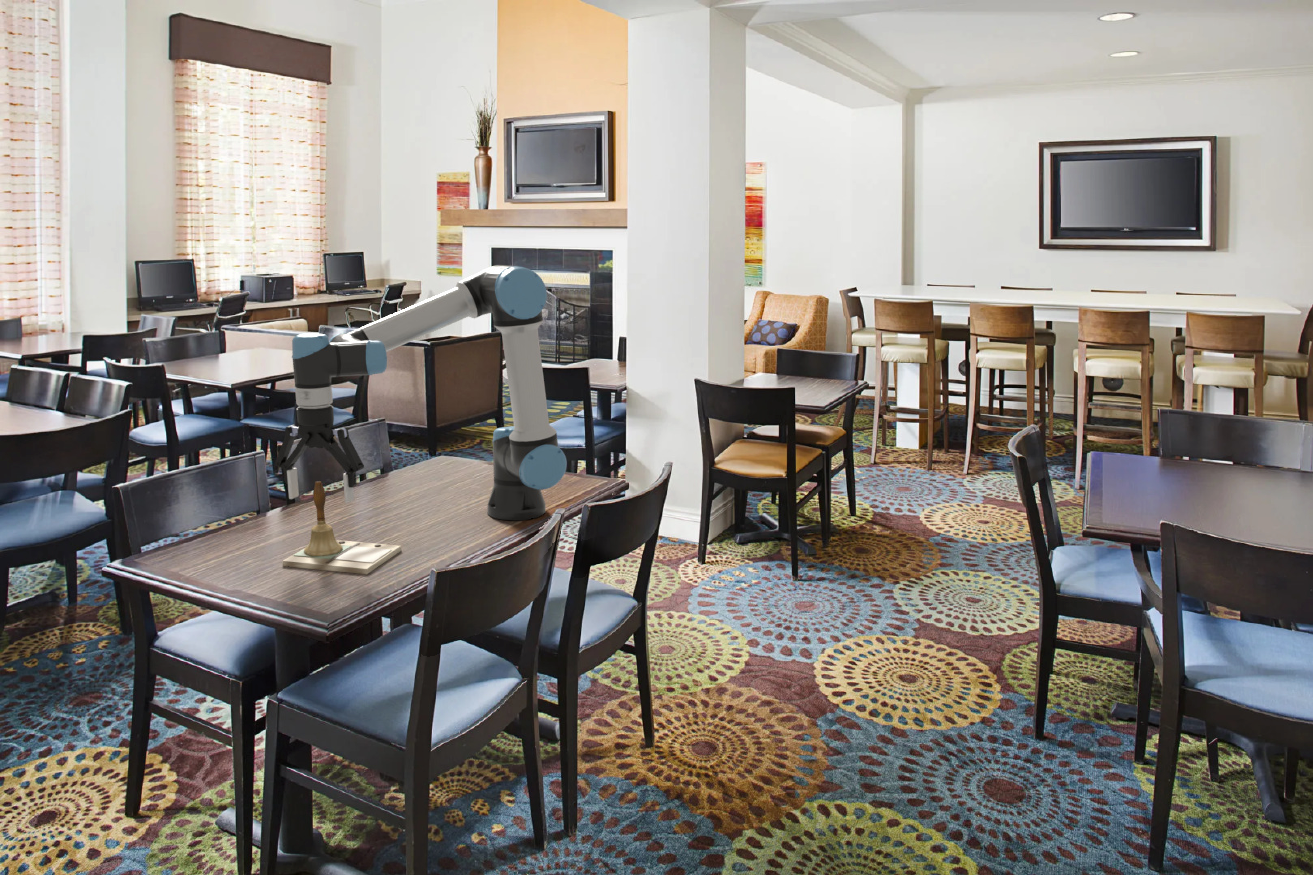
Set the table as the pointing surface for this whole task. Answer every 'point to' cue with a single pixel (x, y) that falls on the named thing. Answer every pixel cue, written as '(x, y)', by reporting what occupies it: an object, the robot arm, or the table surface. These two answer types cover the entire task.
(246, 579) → the table surface
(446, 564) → the table surface
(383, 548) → the slot board
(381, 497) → the table surface
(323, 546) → the hand bell
